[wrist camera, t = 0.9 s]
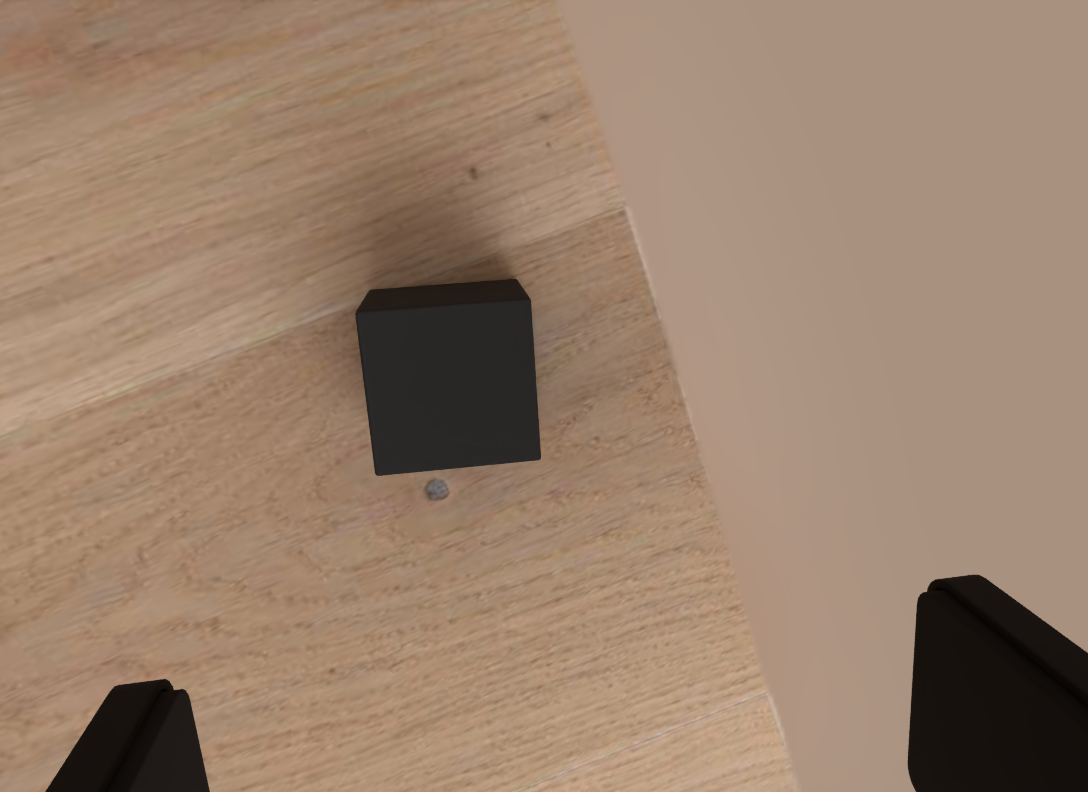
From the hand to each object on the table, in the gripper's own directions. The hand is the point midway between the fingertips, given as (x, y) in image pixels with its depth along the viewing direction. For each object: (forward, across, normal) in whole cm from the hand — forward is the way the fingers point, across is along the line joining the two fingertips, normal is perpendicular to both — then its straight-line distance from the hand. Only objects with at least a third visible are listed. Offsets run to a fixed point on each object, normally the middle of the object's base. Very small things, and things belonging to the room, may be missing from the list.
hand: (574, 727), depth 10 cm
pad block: (+16, +1, -2) cm, 16 cm away
